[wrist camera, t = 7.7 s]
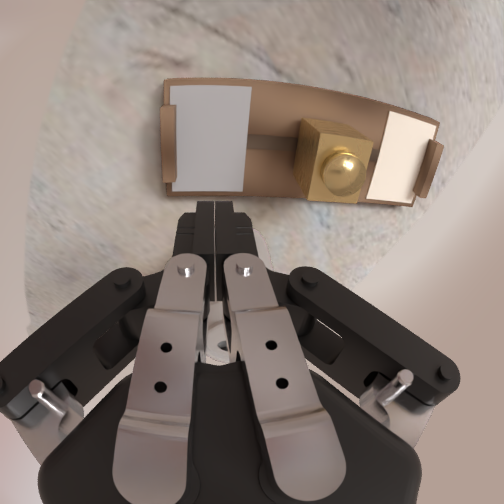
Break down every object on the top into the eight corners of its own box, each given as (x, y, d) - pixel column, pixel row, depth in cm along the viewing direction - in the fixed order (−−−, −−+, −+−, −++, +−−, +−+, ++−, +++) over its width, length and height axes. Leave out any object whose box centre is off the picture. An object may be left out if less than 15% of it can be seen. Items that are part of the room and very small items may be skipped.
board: (167, 78, 18) (160, 81, 16) (430, 118, 22) (449, 127, 19) (169, 188, 24) (164, 204, 22) (405, 200, 28) (419, 214, 26)
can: (186, 262, 30) (179, 360, 21) (212, 207, 26) (212, 307, 17) (247, 280, 33) (260, 373, 24) (279, 232, 29) (309, 328, 20)
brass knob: (301, 117, 20) (326, 137, 15) (347, 124, 20) (380, 146, 16) (292, 174, 23) (311, 207, 19) (335, 177, 23) (362, 210, 19)
